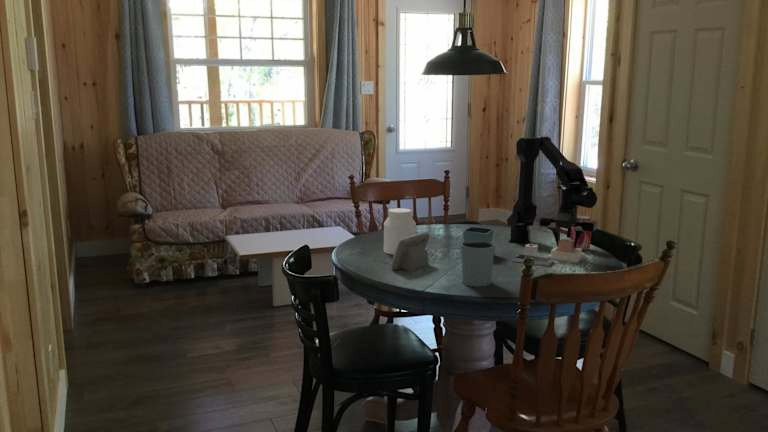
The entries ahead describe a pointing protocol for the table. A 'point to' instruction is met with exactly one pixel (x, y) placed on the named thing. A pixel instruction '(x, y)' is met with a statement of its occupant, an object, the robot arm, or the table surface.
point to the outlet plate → (566, 255)
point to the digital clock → (411, 252)
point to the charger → (566, 245)
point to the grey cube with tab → (531, 249)
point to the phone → (538, 260)
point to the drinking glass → (477, 262)
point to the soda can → (586, 237)
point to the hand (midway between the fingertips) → (566, 247)
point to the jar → (397, 228)
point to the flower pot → (478, 234)
